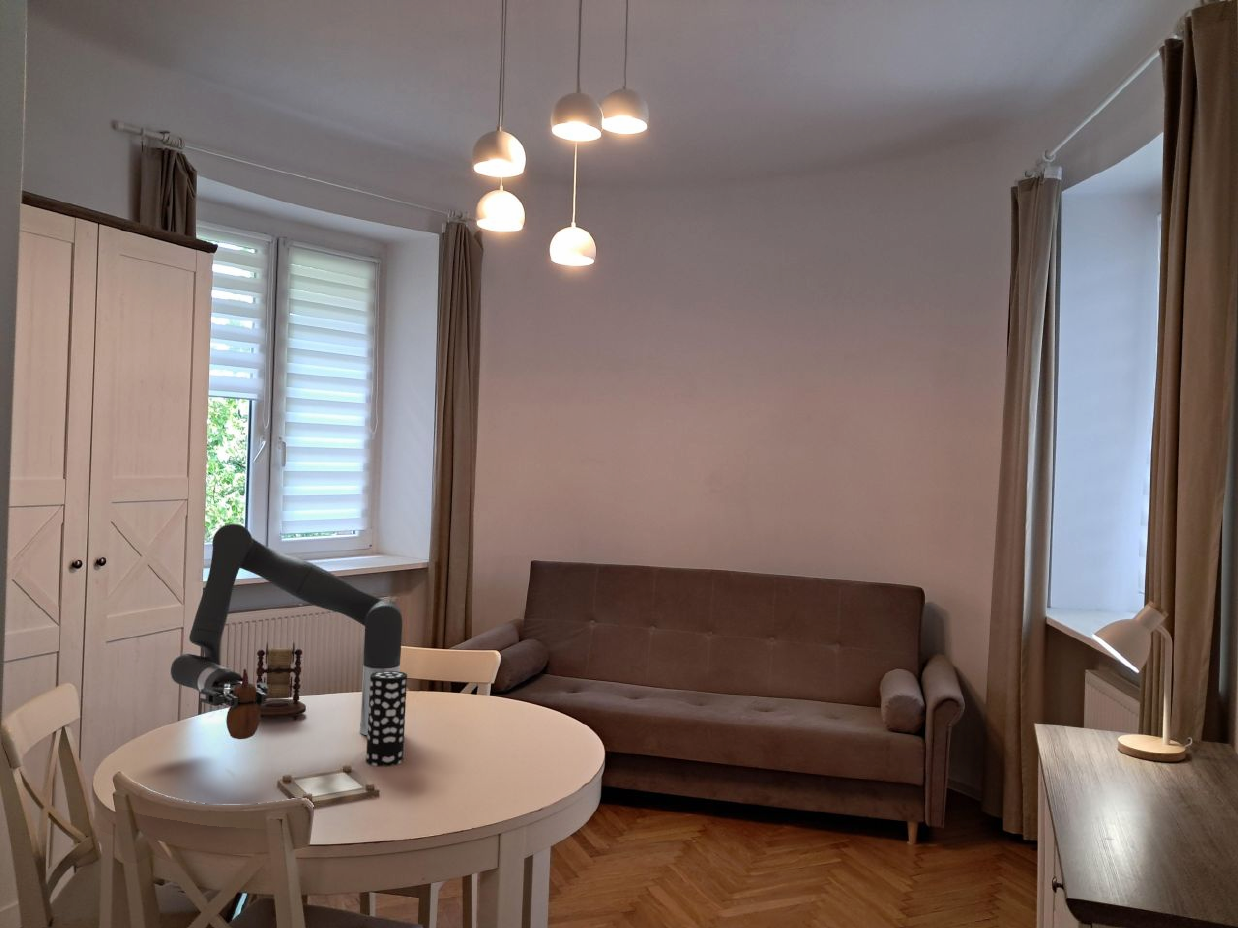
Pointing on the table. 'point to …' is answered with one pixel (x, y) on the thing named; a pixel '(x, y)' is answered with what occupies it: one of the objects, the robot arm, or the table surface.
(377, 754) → the spotted tube
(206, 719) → the table surface
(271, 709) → the scroll
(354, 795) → the base plate
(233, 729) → the wooden figurine
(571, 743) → the table surface
